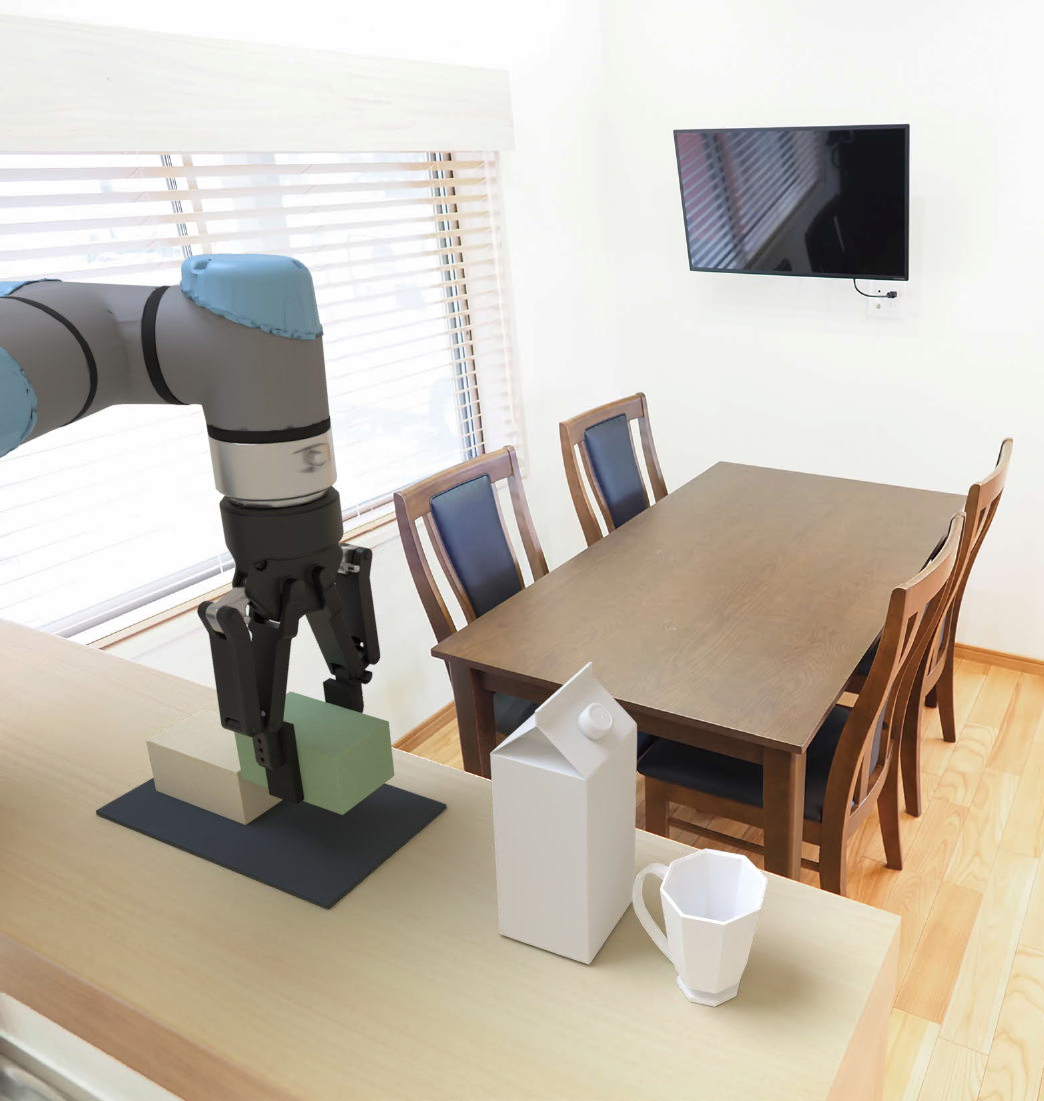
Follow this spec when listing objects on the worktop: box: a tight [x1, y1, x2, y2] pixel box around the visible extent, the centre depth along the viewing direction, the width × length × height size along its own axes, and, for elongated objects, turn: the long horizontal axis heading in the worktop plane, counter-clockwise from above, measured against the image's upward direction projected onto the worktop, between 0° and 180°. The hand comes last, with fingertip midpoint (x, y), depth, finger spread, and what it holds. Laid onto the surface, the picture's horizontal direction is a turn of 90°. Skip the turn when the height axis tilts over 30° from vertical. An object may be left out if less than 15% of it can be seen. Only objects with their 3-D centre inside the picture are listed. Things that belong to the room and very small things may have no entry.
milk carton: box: [489, 661, 638, 965], centre depth 63 cm, size 7×7×19 cm
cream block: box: [145, 707, 283, 825], centre depth 77 cm, size 10×6×5 cm, turn 67°
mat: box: [95, 777, 448, 910], centre depth 76 cm, size 24×13×1 cm, turn 67°
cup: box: [632, 848, 769, 1008], centre depth 62 cm, size 7×10×8 cm
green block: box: [234, 691, 395, 815], centre depth 72 cm, size 10×6×5 cm, turn 67°
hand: (318, 774), depth 72 cm, fingers closed on green block, 5 cm apart
